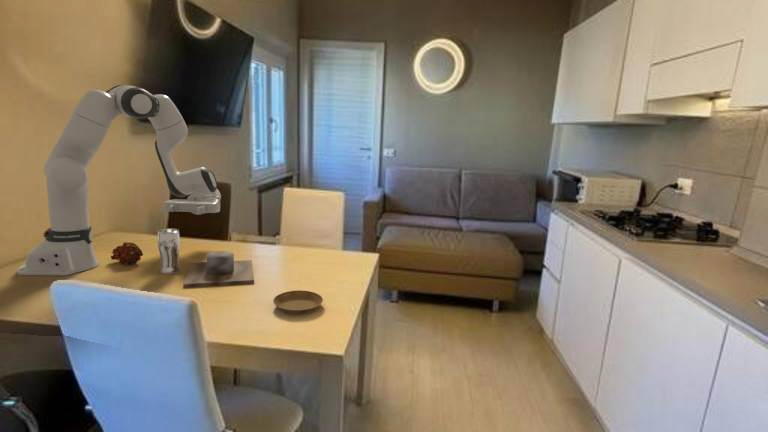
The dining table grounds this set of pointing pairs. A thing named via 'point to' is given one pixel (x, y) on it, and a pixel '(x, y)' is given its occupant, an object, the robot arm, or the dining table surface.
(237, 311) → the dining table surface
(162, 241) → the beer glass
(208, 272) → the post stand
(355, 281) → the dining table surface
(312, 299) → the plant saucer
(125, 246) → the brown pine cone
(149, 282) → the dining table surface
